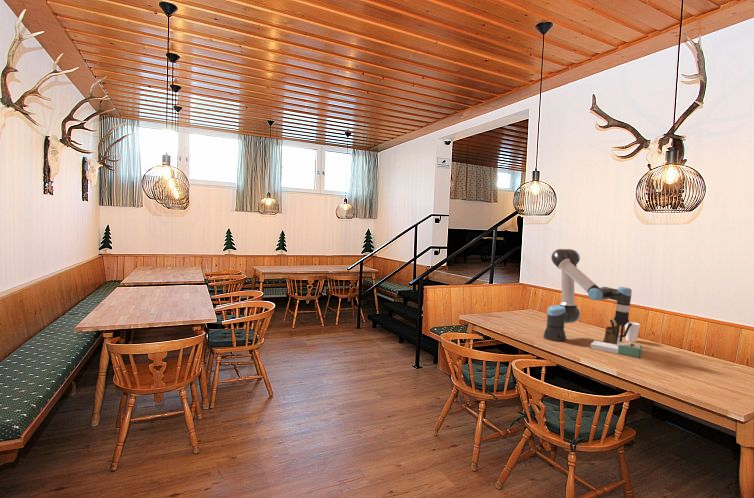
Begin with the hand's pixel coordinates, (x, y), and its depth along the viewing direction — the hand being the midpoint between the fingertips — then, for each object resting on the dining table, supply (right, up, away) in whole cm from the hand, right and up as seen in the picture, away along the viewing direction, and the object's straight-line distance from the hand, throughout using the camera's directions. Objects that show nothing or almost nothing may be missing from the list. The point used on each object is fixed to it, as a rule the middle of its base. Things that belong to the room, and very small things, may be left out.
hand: (618, 346), depth 267 cm
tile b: (+6, +1, -5) cm, 8 cm away
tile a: (+3, -1, -2) cm, 4 cm away
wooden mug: (+9, -3, +21) cm, 23 cm away
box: (+5, -4, -4) cm, 8 cm away
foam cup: (+28, -3, +31) cm, 41 cm away
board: (-6, -3, +5) cm, 8 cm away
